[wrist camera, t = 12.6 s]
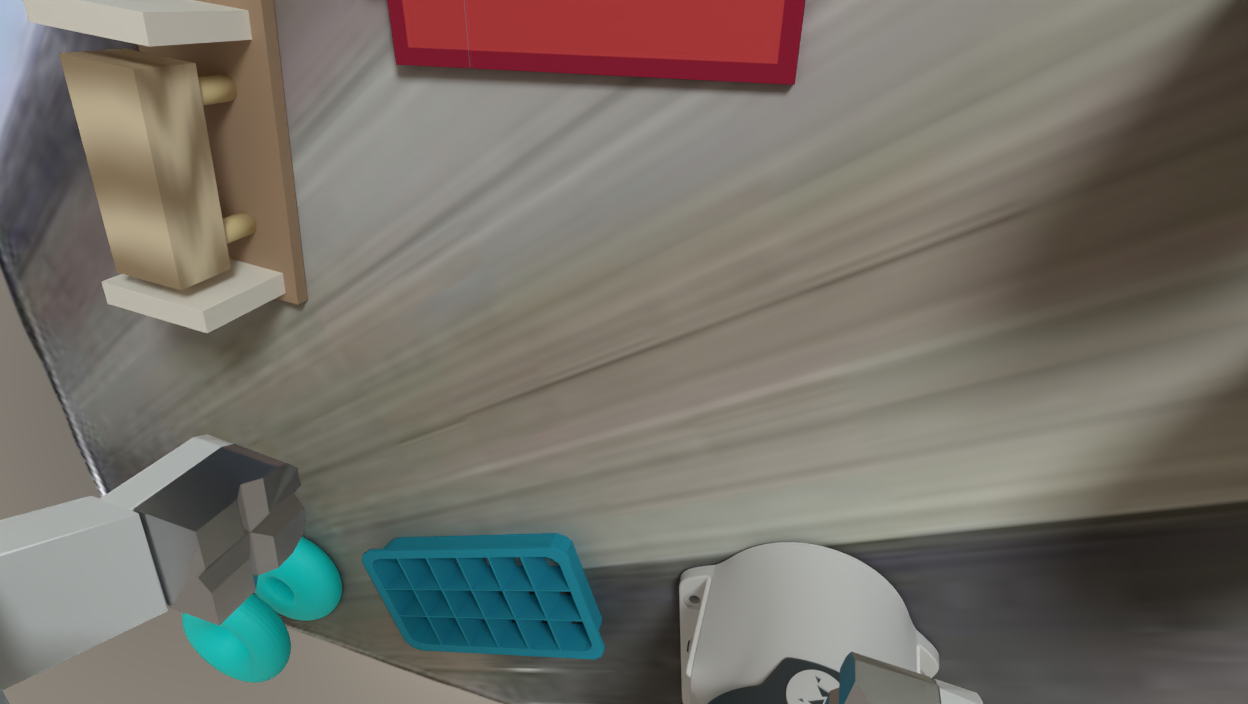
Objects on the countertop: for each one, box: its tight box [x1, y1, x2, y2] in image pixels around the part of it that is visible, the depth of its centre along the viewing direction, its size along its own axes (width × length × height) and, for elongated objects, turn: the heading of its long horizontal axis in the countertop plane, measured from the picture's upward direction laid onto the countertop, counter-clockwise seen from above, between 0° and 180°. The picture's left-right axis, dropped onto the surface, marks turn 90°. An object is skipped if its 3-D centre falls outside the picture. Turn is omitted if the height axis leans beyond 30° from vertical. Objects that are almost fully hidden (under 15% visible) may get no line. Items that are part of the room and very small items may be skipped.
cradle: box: [23, 0, 308, 333], centre depth 43 cm, size 20×10×8 cm, turn 172°
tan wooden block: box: [59, 49, 231, 290], centre depth 41 cm, size 13×5×4 cm, turn 172°
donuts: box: [182, 537, 342, 682], centre depth 62 cm, size 10×10×10 cm
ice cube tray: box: [362, 533, 605, 659], centre depth 58 cm, size 12×20×3 cm, turn 107°
